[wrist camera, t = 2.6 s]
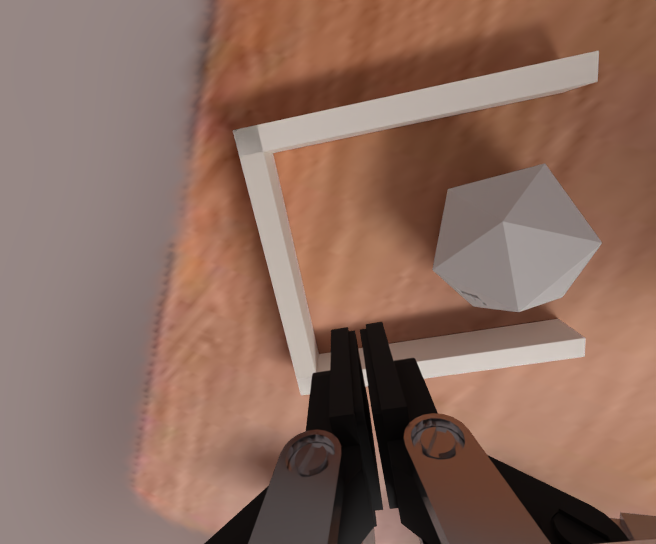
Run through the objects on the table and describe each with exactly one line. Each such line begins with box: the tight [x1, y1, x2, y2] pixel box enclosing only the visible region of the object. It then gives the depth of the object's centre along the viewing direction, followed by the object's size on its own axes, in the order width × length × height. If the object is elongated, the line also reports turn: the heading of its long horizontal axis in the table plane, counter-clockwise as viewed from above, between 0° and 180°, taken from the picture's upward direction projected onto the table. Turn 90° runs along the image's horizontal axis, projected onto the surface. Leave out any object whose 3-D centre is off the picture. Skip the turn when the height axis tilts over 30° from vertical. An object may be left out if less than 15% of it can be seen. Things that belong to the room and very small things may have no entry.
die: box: [432, 164, 602, 312], centre depth 20 cm, size 8×9×10 cm
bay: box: [233, 51, 599, 395], centre depth 23 cm, size 20×19×3 cm
